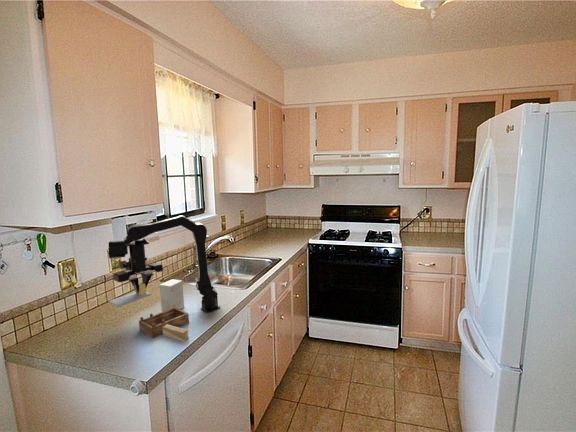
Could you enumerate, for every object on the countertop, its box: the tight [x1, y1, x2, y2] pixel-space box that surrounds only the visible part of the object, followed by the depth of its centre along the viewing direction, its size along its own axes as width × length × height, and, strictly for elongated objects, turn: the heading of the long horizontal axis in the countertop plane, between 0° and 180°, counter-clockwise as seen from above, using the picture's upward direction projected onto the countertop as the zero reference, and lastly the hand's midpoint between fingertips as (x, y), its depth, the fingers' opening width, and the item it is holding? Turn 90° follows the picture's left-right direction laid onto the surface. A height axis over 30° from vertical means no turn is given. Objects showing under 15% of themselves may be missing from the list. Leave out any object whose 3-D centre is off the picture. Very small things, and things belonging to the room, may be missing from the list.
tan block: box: [162, 324, 189, 342], centre depth 126 cm, size 2×11×4 cm, turn 62°
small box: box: [159, 279, 185, 313], centre depth 149 cm, size 8×6×13 cm
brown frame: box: [138, 308, 190, 339], centre depth 134 cm, size 16×10×5 cm, turn 140°
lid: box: [108, 281, 152, 308], centre depth 134 cm, size 14×8×5 cm, turn 140°
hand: (140, 291), depth 138 cm, fingers closed on lid, 2 cm apart
